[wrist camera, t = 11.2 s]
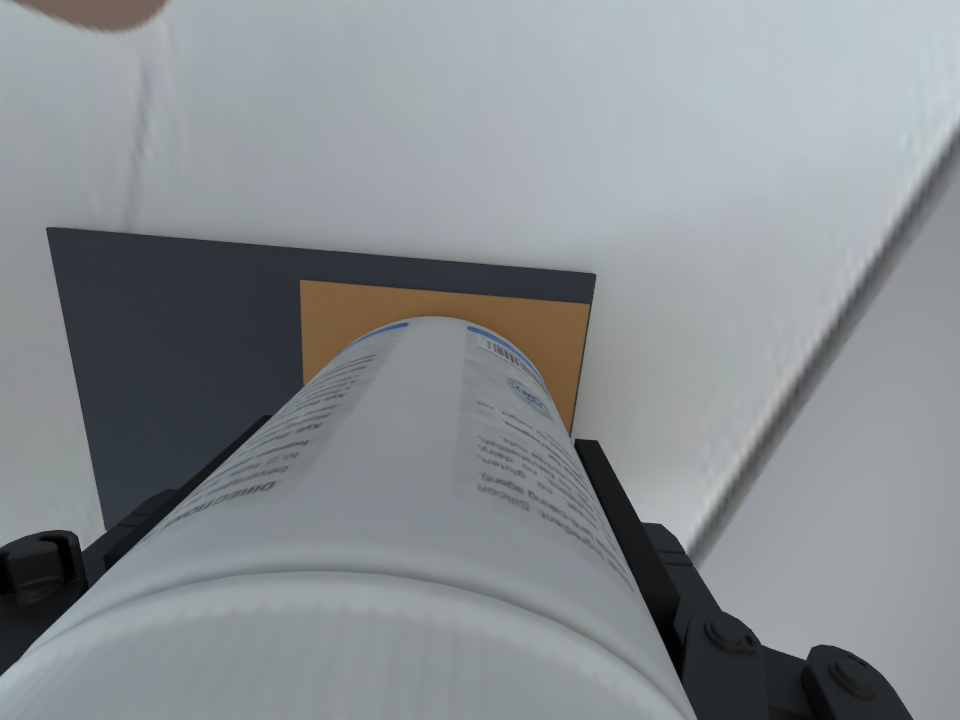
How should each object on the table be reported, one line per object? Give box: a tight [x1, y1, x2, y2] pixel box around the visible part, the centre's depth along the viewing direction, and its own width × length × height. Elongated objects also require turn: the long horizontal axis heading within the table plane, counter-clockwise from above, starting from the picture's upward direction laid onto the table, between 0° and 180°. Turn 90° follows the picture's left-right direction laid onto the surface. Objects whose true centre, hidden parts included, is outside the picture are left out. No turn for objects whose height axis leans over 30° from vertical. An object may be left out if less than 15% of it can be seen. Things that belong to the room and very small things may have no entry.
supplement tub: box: [0, 316, 697, 720], centre depth 11 cm, size 10×10×15 cm
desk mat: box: [46, 227, 596, 531], centre depth 18 cm, size 20×13×1 cm, turn 85°
